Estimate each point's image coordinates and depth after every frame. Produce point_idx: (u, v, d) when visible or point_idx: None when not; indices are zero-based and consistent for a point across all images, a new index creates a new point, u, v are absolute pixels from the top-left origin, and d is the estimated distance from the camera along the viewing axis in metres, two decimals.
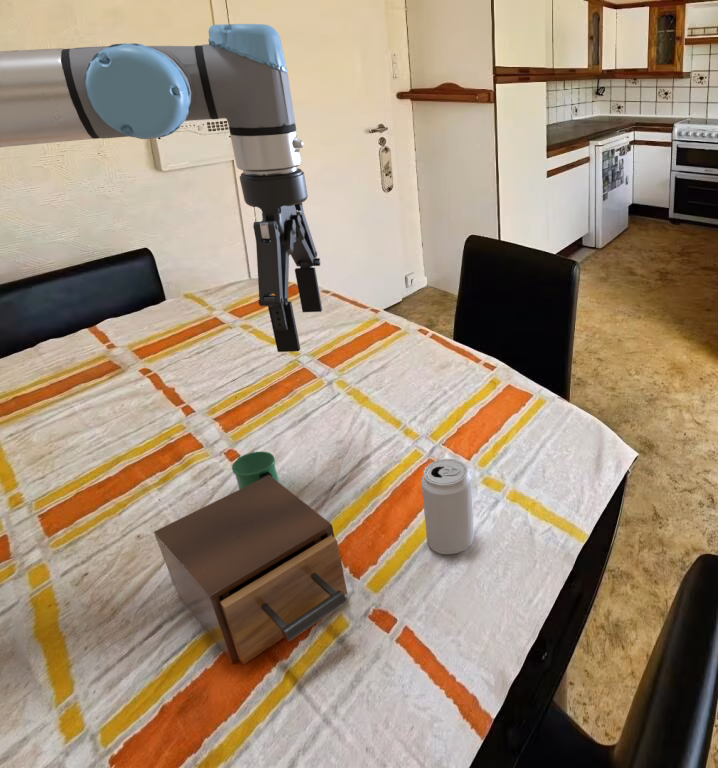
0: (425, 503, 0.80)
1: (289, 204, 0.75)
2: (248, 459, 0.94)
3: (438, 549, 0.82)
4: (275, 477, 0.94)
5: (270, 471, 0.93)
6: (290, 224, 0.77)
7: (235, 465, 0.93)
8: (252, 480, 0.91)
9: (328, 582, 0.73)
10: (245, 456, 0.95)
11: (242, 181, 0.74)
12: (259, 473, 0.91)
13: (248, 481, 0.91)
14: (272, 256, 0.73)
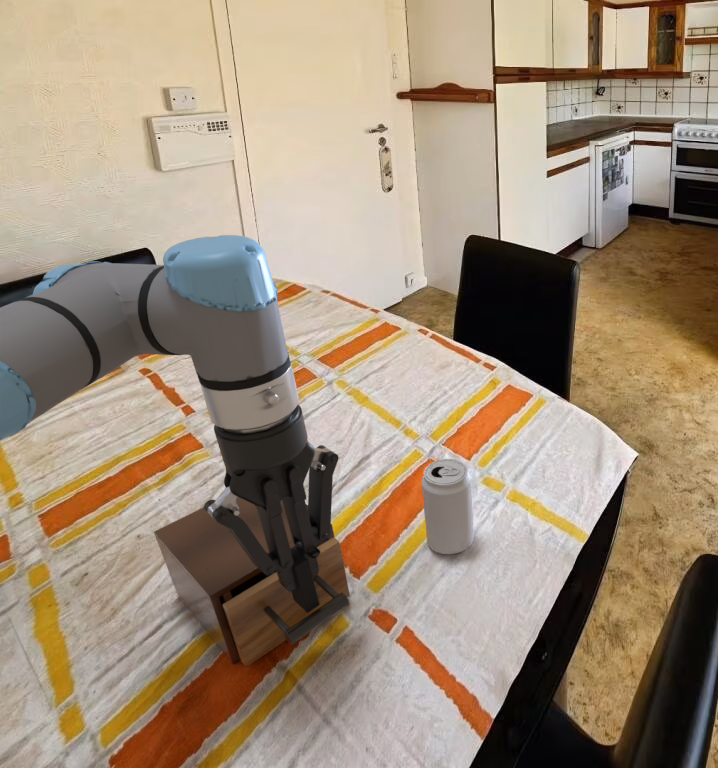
0: (425, 503, 0.80)
1: (249, 470, 0.54)
2: None
3: (438, 549, 0.82)
4: None
5: None
6: (261, 487, 0.56)
7: None
8: None
9: (331, 584, 0.73)
10: None
11: None
12: None
13: None
14: (237, 538, 0.57)
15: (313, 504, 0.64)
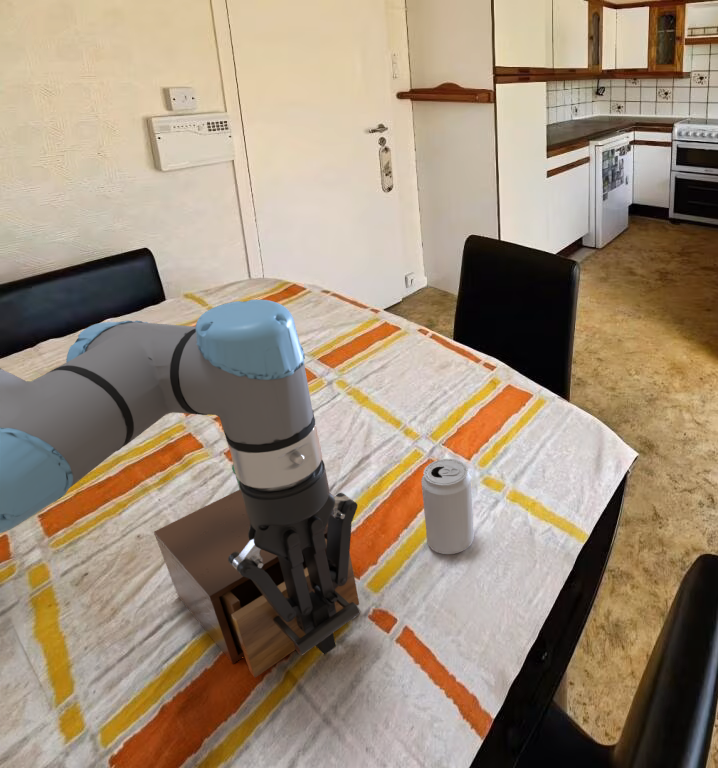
0: (425, 503, 0.80)
1: (273, 525, 0.56)
2: None
3: (438, 549, 0.82)
4: None
5: None
6: (285, 539, 0.58)
7: None
8: None
9: (340, 593, 0.72)
10: None
11: None
12: None
13: None
14: (260, 588, 0.59)
15: (331, 550, 0.65)
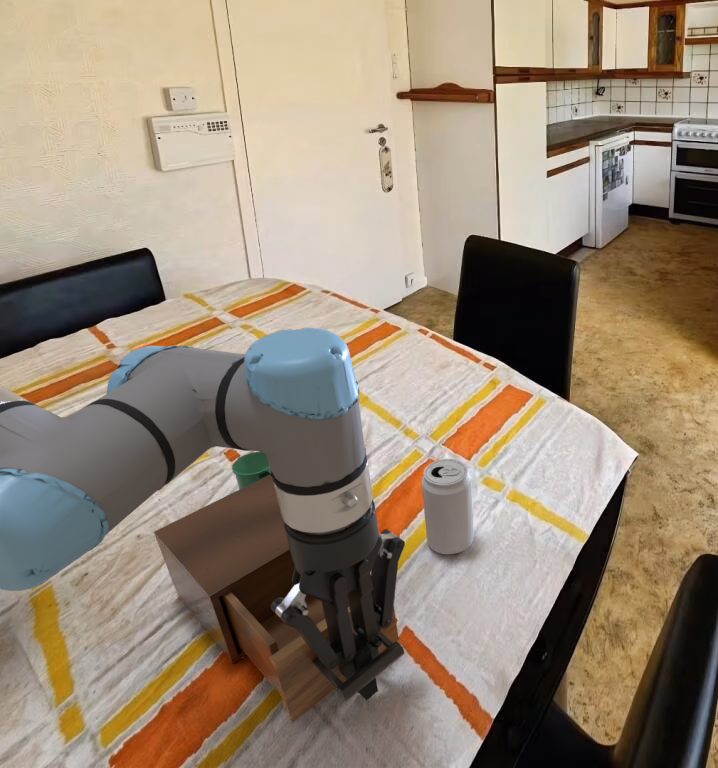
0: (425, 503, 0.80)
1: (321, 571, 0.51)
2: (248, 459, 0.94)
3: (438, 549, 0.82)
4: None
5: (270, 471, 0.93)
6: (331, 584, 0.53)
7: (235, 465, 0.93)
8: (252, 480, 0.91)
9: None
10: (245, 456, 0.95)
11: None
12: (259, 473, 0.91)
13: (248, 481, 0.91)
14: (304, 636, 0.54)
15: (376, 590, 0.61)
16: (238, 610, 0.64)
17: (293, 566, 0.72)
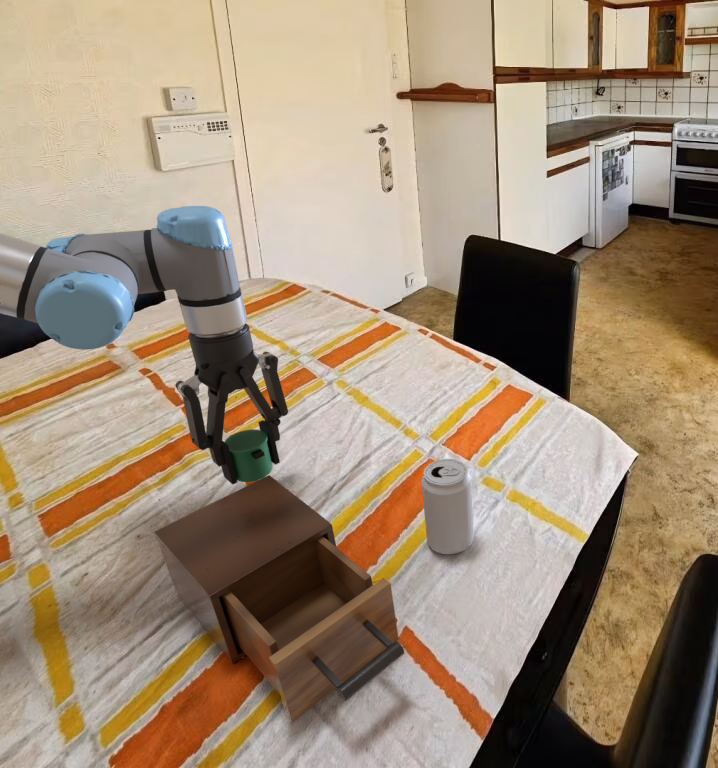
0: (425, 503, 0.80)
1: None
2: (240, 437, 0.92)
3: (438, 549, 0.82)
4: (268, 455, 0.92)
5: (262, 449, 0.91)
6: None
7: (226, 442, 0.91)
8: (244, 458, 0.89)
9: (380, 629, 0.67)
10: (237, 434, 0.92)
11: (246, 334, 0.83)
12: (251, 450, 0.89)
13: (240, 458, 0.89)
14: None
15: None
16: (238, 610, 0.64)
17: (293, 566, 0.72)
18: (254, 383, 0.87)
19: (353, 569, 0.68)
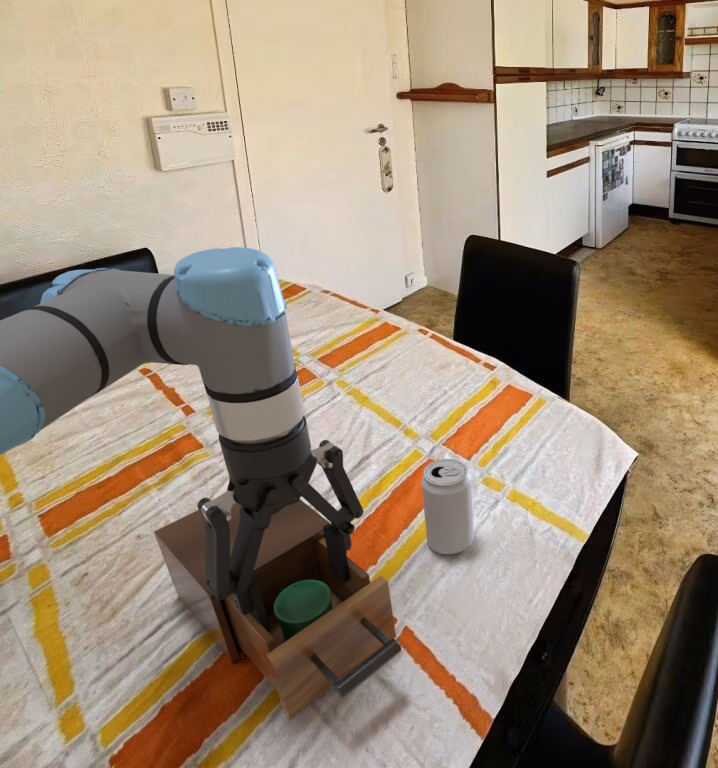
0: (425, 503, 0.80)
1: None
2: (295, 594, 0.68)
3: (438, 549, 0.82)
4: None
5: None
6: None
7: (277, 604, 0.67)
8: None
9: (377, 626, 0.68)
10: (290, 588, 0.69)
11: (304, 432, 0.56)
12: (313, 619, 0.65)
13: (297, 630, 0.65)
14: None
15: None
16: (236, 608, 0.64)
17: (291, 564, 0.72)
18: (313, 491, 0.61)
19: (351, 567, 0.69)
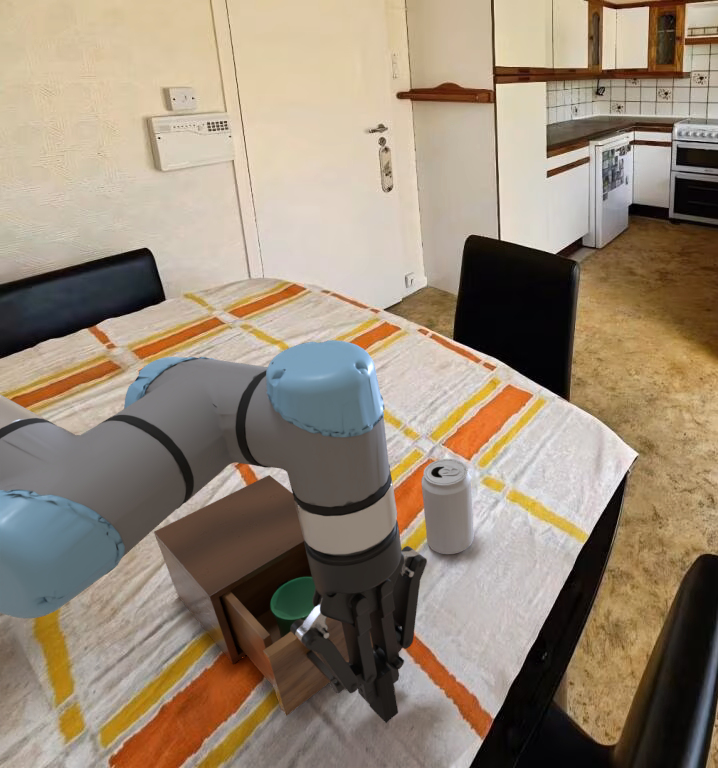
0: (425, 503, 0.80)
1: None
2: (292, 591, 0.68)
3: (438, 549, 0.82)
4: None
5: None
6: None
7: (274, 601, 0.67)
8: None
9: None
10: (287, 585, 0.69)
11: (397, 536, 0.51)
12: None
13: None
14: None
15: None
16: (233, 604, 0.64)
17: (288, 561, 0.73)
18: (391, 604, 0.55)
19: None
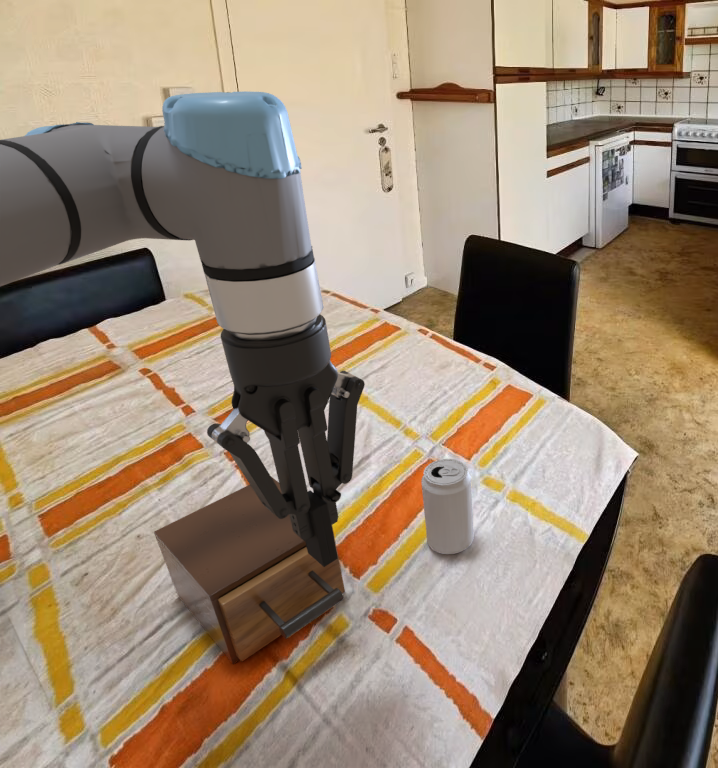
0: (425, 503, 0.80)
1: None
2: None
3: (438, 549, 0.82)
4: None
5: None
6: None
7: None
8: None
9: (326, 580, 0.74)
10: None
11: (323, 331, 0.47)
12: None
13: None
14: None
15: None
16: None
17: None
18: (323, 421, 0.51)
19: None
